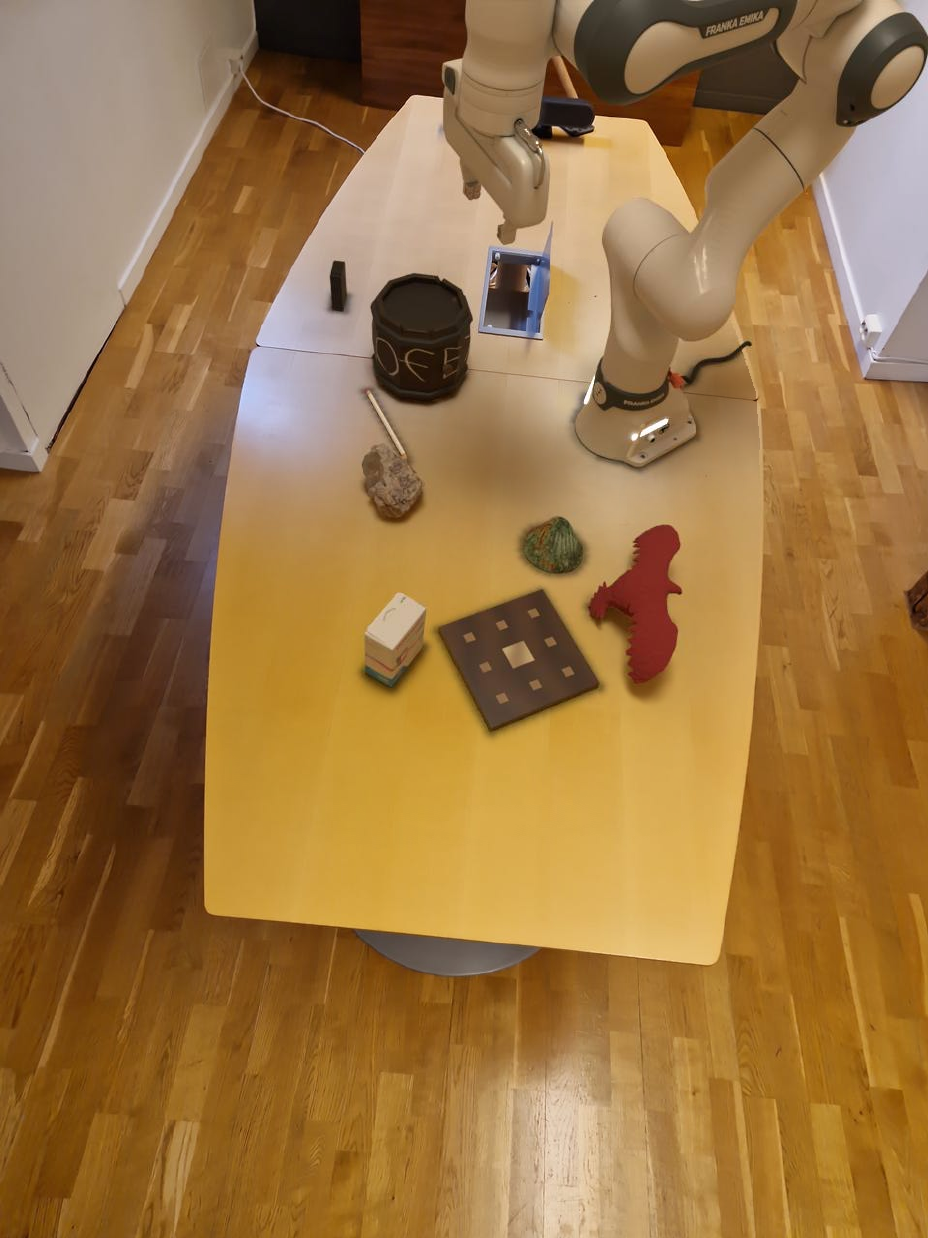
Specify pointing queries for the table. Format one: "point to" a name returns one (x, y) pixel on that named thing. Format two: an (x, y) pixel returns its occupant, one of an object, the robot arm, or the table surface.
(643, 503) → the table surface
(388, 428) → the pencil
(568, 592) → the table surface
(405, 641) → the ink box
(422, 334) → the wooden barrel
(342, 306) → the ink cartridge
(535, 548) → the seashell
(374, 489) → the rock
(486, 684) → the board
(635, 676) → the decorative bird sculpture
